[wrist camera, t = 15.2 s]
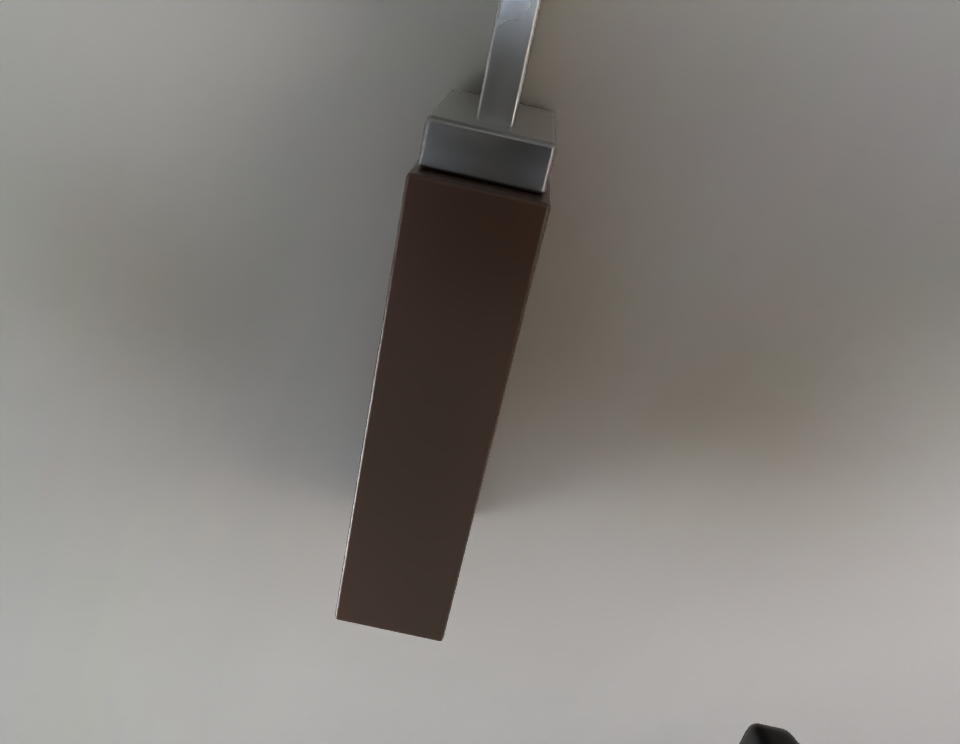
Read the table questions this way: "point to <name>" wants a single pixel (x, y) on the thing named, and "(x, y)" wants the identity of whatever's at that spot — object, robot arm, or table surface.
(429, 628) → the knife
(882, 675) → the table surface
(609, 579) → the table surface
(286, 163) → the table surface
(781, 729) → the robot arm
